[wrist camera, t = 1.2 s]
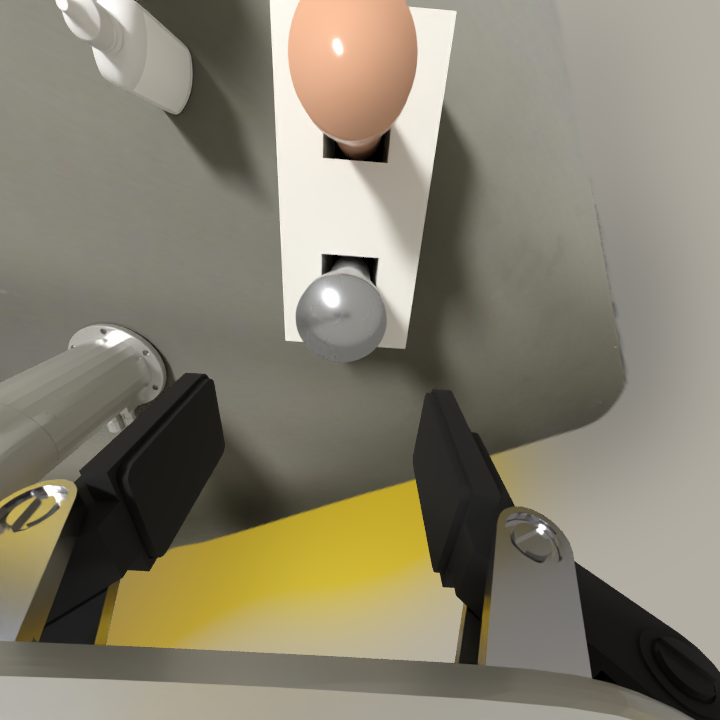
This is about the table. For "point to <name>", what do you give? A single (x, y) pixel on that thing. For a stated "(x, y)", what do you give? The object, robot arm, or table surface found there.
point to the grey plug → (342, 313)
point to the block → (358, 180)
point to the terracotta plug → (353, 67)
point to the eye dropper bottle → (133, 50)
